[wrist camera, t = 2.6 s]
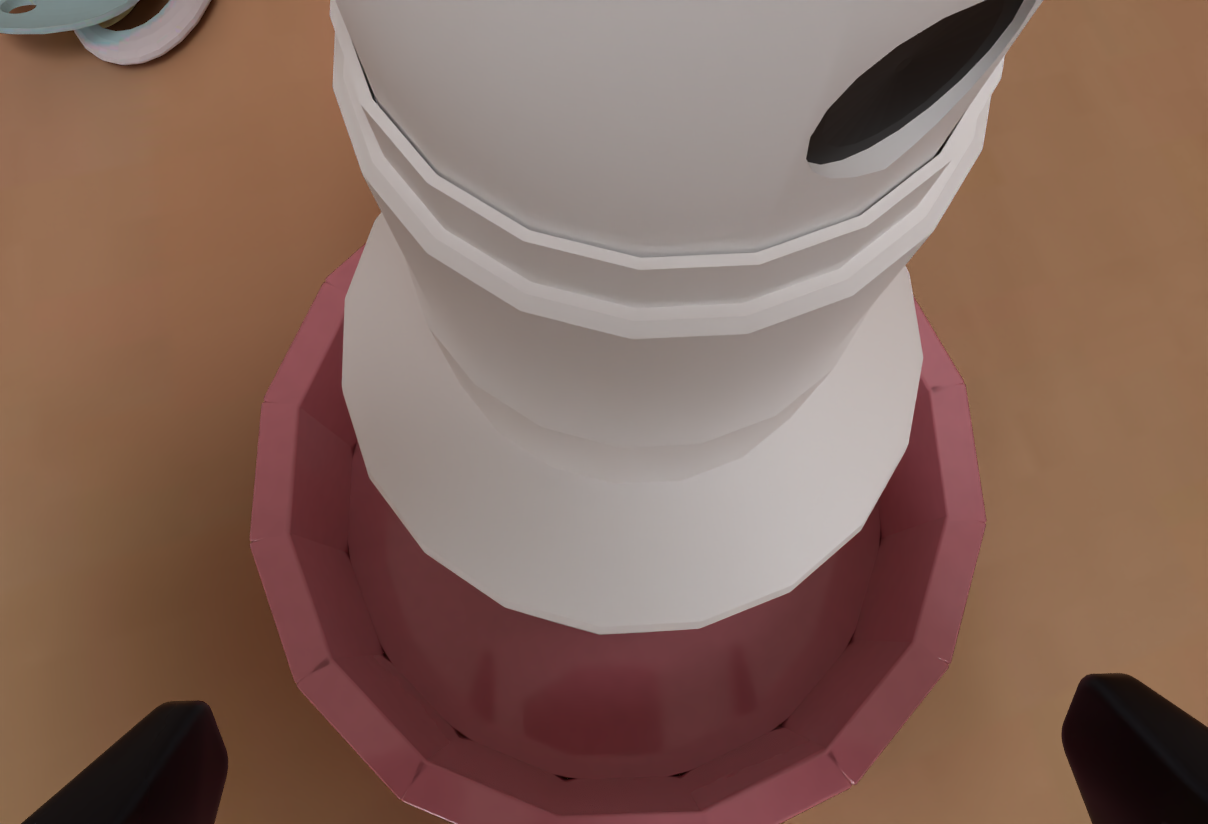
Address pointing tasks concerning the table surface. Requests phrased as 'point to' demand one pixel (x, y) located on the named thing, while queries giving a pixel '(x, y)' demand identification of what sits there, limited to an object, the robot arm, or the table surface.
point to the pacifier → (106, 25)
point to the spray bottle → (648, 281)
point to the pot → (602, 636)
